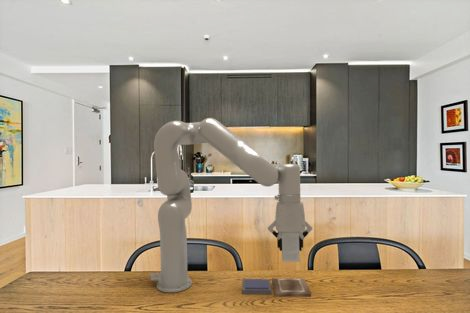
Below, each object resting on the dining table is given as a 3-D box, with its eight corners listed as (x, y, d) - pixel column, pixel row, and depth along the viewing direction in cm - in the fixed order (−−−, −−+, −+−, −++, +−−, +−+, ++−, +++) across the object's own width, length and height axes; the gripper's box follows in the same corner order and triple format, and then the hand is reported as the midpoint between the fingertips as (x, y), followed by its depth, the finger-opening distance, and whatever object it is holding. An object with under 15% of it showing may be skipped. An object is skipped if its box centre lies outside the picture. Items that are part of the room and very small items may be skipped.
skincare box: (298, 257, 112) (298, 224, 112) (299, 262, 108) (299, 227, 107) (281, 257, 112) (280, 224, 112) (282, 261, 108) (281, 227, 108)
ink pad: (242, 294, 107) (242, 288, 107) (242, 282, 116) (242, 277, 116) (271, 294, 106) (271, 289, 106) (269, 282, 115) (269, 278, 115)
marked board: (274, 296, 105) (274, 292, 104) (272, 281, 117) (272, 277, 116) (311, 296, 104) (311, 292, 104) (304, 281, 116) (304, 277, 116)
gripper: (265, 200, 106) (266, 253, 107) (316, 200, 105) (317, 253, 106) (264, 197, 114) (265, 246, 114) (312, 197, 113) (312, 246, 113)
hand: (290, 249), depth 110 cm, fingers closed on skincare box, 6 cm apart
